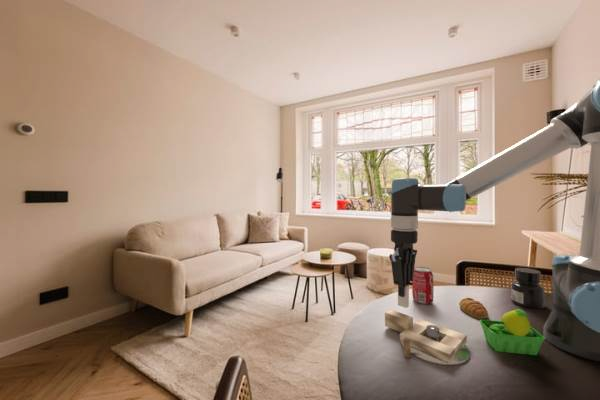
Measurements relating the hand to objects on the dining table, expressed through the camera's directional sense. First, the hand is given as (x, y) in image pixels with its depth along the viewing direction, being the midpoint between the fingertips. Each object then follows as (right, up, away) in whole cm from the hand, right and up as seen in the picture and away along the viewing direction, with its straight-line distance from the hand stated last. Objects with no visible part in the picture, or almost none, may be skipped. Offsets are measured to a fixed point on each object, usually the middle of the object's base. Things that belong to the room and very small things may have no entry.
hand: (403, 305), depth 80 cm
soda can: (+13, -5, +16) cm, 22 cm away
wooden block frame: (+1, -5, -9) cm, 10 cm away
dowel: (-5, -6, -16) cm, 18 cm away
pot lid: (+3, -6, -12) cm, 13 cm away
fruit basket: (+22, -6, -14) cm, 27 cm away
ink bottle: (+49, -5, +12) cm, 50 cm away
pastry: (+26, -5, +7) cm, 28 cm away
